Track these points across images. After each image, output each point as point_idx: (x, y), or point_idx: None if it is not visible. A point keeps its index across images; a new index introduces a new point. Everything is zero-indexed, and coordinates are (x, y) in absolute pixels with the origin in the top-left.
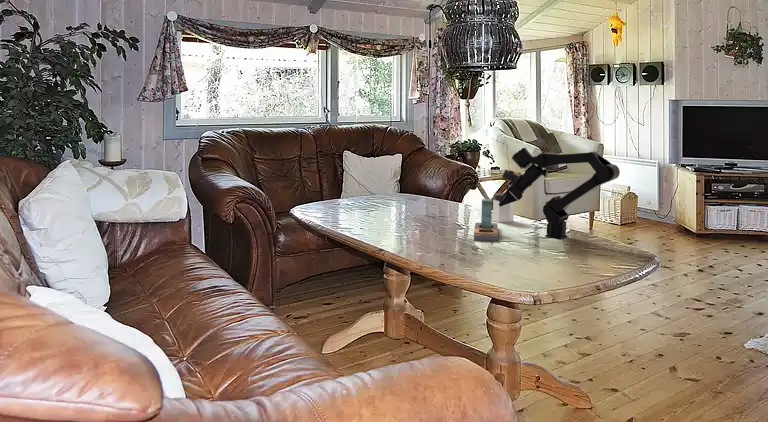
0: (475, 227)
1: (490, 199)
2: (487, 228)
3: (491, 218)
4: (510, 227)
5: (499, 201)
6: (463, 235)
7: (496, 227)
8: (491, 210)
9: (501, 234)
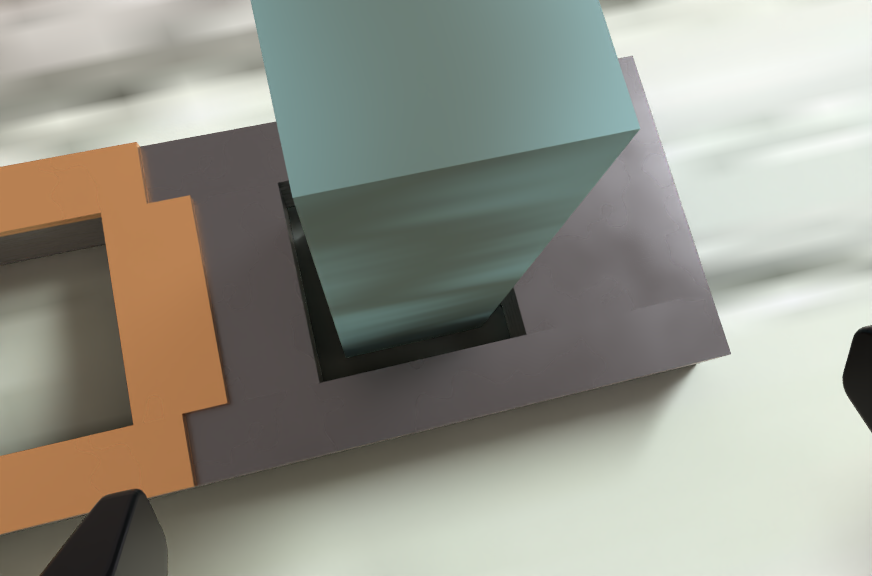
0: (277, 129)
1: (569, 90)
2: (202, 317)
3: (333, 319)
4: (838, 532)
5: (859, 351)
6: (37, 66)
7: (399, 418)
8: (322, 276)
9: (282, 527)
